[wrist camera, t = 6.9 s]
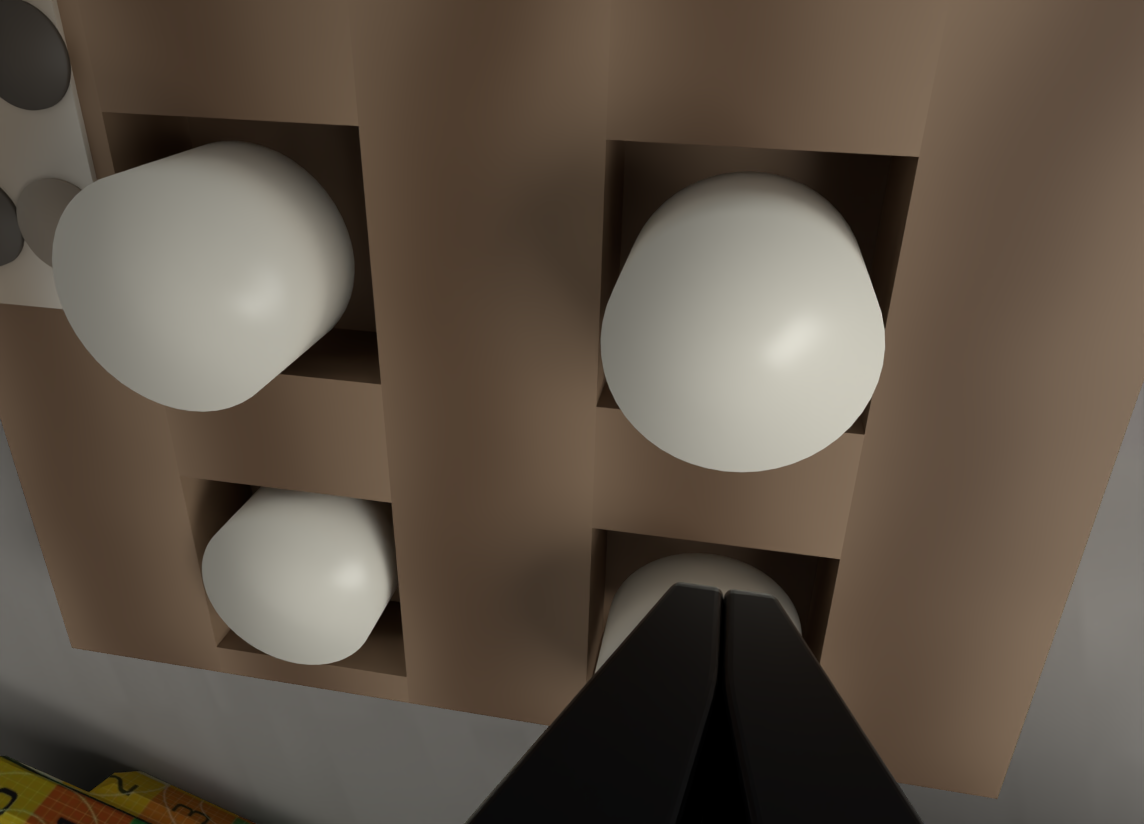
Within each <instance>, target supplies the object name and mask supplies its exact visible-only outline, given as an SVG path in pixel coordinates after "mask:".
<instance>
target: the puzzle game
mask: <svg viewBox="0 0 1144 824" xmlns="http://www.w3.org/2000/svg"><path fill="white" fill-rule="evenodd" d="M0 824H256V823H253V822H251V821H249V820H247V819H245V818H242V817H240V816H238V815H236V814H234V813H231V812H229V811H227V810H225V809H223V808H221V807H218V806H216V805H214V804H212V803H210V802H207V801H205V800H203V799H201V798H199V797H196V796H194V795H192V794H190V793H188V792H186V791H183V790H181V789H179V788H177V787H175V786H172V785H170V784H168V783H166V782H164V781H161V780H159V779H157V778H155V777H153V776H151V775H148V774H146V773H144V772H142V771H133V772H122V773H114V774H112V775H111V776H110V777H108V778H107V779H106V780H104V781H103V782H102V783H100V784H99V785H98V786H96V787H95V788H94V789H93V790H91V791H90V792H87V791H85V790H82V789H80V788H78V787H76V786H73V785H71V784H69V783H67V782H64V781H62V780H60V779H57V778H55V777H53V776H51V775H48V774H46V773H44V772H42V771H39V770H37V769H35V768H32V767H30V766H28V765H26V764H23V763H21V762H19V761H16V760H14V759H12V758H10V757H7V756H0Z"/></svg>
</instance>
